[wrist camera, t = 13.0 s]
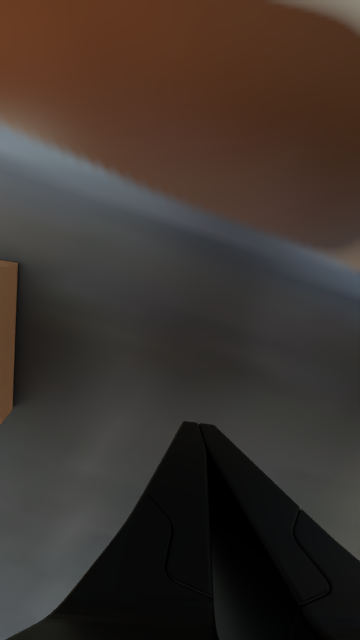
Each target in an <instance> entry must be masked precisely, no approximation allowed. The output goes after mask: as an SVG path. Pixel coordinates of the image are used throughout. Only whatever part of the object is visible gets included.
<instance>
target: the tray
mask: <svg viewBox="0 0 360 640" xmlns="http://www.w3.org/2000/svg"><path fill="white" fill-rule="evenodd" d="M17 273H18V263H16V262H9V261H3V260H0V424H1V423H2V422H3V421H4V420H5V418H6V417H7V416H8V415H9V413H10V412H11V411H12V406H13V380H14V353H15V326H16V299H17Z"/></svg>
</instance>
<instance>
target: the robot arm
mask: <svg viewBox="0 0 360 640" xmlns="http://www.w3.org/2000/svg"><path fill="white" fill-rule="evenodd" d="M6 640H360V561H359V560H358V559H356V558H355V557H354V556H353V555H352V554H351V553H349V552H348V551H347V550H346V549H345V548H344V547H342V546H341V545H340V544H339V543H338V542H337V541H335V540H334V539H333V538H332V537H331V536H330V535H329V534H328V533H327V532H326V531H325V530H323V529H322V528H321V527H320V526H319V525H318V524H317V523H316V522H315V521H314V520H313V519H312V518H311V517H310V516H308V515H307V514H306V513H305V512H304V511H303V510H302V509H300V507H299V506H298V505H297V504H296V503H295V502H294V501H293V500H292V499H291V498H290V497H289V496H288V495H286V494H285V493H284V492H283V491H282V490H281V489H280V488H279V487H278V486H277V485H276V484H275V483H274V482H273V481H272V480H271V479H270V478H269V477H268V476H267V475H266V474H265V473H264V472H262V471H261V470H260V469H259V468H258V467H257V466H256V465H255V464H254V463H253V462H252V461H251V460H250V459H249V458H248V457H247V456H246V455H245V454H244V453H243V452H242V451H241V450H240V449H239V448H237V447H236V446H235V445H234V444H233V443H232V442H231V441H230V440H229V439H228V438H227V437H226V436H225V435H224V434H223V433H222V432H221V431H220V430H219V429H218V428H217V427H216V426H214V425H212V424H203V423H200V424H199V425H198V423H195V422H187V421H184V422H183V423H182V424H181V426H180V428H179V430H178V431H177V433H176V435H175V437H174V439H173V440H172V442H171V444H170V446H169V448H168V449H167V451H166V453H165V455H164V456H163V458H162V460H161V462H160V464H159V465H158V467H157V469H156V471H155V473H154V474H153V476H152V478H151V480H150V482H149V483H148V485H147V487H146V489H145V490H144V493H143V494H142V495H141V497H140V499H139V501H138V503H137V504H136V506H135V508H134V509H133V511H132V512H131V514H130V516H129V517H128V519H127V521H126V522H125V523H124V525H123V526H122V527H121V529H120V530H119V532H118V533H117V534H116V536H115V537H114V538H113V540H112V541H111V542H110V544H109V545H108V546H107V547H106V549H105V550H104V551H103V552H102V554H101V555H100V556H99V557H98V559H97V560H96V561H95V562H94V564H93V565H92V566H91V567H90V569H89V570H88V571H87V572H86V574H85V575H84V576H83V577H82V579H81V580H80V581H79V582H78V584H77V585H76V586H75V587H74V589H73V590H72V591H71V592H70V594H69V595H68V596H67V597H66V598H65V600H64V601H63V602H62V603H61V604H60V605H59V606H58V607H57V608H56V609H55V610H54V611H53V612H52V613H51V614H49V615H48V616H47V617H46V618H44V619H43V620H42V621H40V622H38V623H36V624H34V625H33V626H31V627H29V628H27V629H25V630H23V631H21V632H19V633H17V634H15V635H13V636H12V637H10V638H8V639H6Z"/></svg>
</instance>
